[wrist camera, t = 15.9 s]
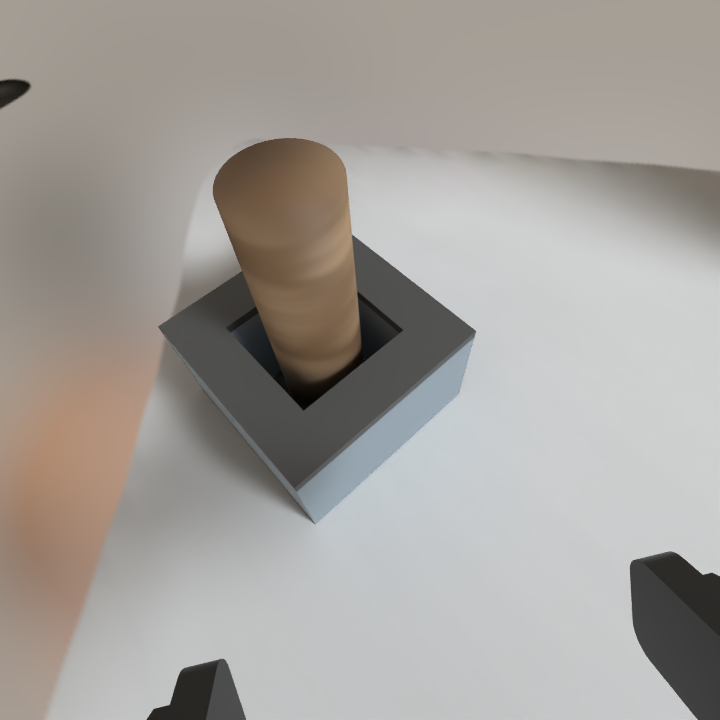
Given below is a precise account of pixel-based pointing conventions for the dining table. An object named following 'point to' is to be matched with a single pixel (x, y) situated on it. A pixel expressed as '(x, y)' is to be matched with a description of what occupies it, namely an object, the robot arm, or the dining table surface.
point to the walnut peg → (296, 257)
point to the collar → (347, 398)
